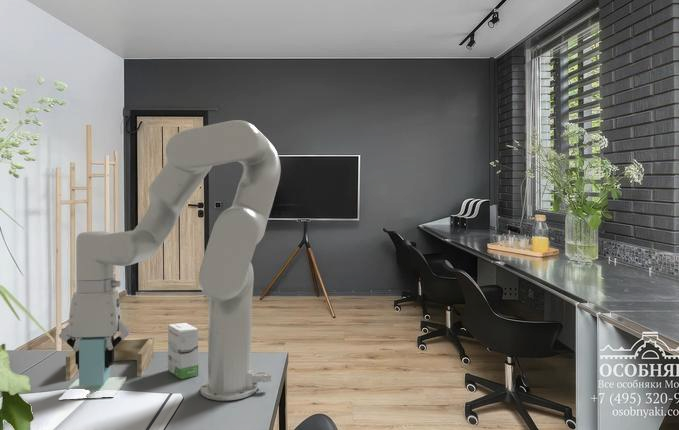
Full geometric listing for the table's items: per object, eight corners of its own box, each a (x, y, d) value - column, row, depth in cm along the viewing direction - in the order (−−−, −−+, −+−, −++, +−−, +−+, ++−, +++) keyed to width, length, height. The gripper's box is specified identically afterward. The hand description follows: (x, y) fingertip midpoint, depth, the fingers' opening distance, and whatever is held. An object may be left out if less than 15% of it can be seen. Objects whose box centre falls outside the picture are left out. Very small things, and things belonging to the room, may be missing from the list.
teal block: (110, 376, 110) (110, 333, 110) (103, 384, 105) (103, 339, 105) (86, 377, 109) (86, 334, 109) (79, 385, 104) (79, 340, 104)
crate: (153, 357, 129) (153, 337, 129) (141, 376, 115) (141, 353, 115) (86, 360, 126) (86, 340, 126) (65, 379, 112) (65, 356, 112)
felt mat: (126, 379, 113) (126, 376, 113) (113, 397, 103) (113, 394, 103) (77, 381, 111) (77, 379, 111) (58, 400, 101) (58, 397, 101)
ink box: (199, 375, 116) (199, 328, 116) (179, 380, 113) (179, 331, 113) (185, 366, 123) (186, 321, 123) (166, 370, 120) (167, 323, 120)
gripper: (139, 283, 112) (138, 359, 112) (60, 284, 109) (60, 362, 109) (131, 288, 104) (130, 370, 105) (46, 290, 101) (46, 374, 102)
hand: (95, 365), depth 107 cm, fingers closed on teal block, 5 cm apart
